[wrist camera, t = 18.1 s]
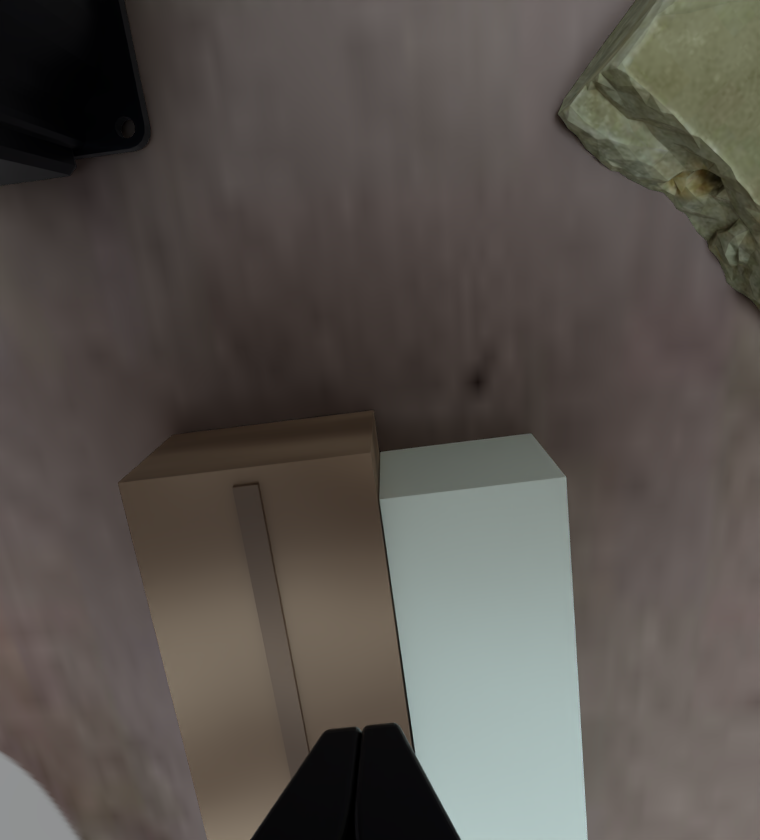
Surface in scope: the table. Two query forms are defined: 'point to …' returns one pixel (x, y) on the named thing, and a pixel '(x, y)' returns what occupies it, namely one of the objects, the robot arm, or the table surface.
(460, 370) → the table surface
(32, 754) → the table surface
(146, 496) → the walnut plank
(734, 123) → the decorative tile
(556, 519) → the sage plank
